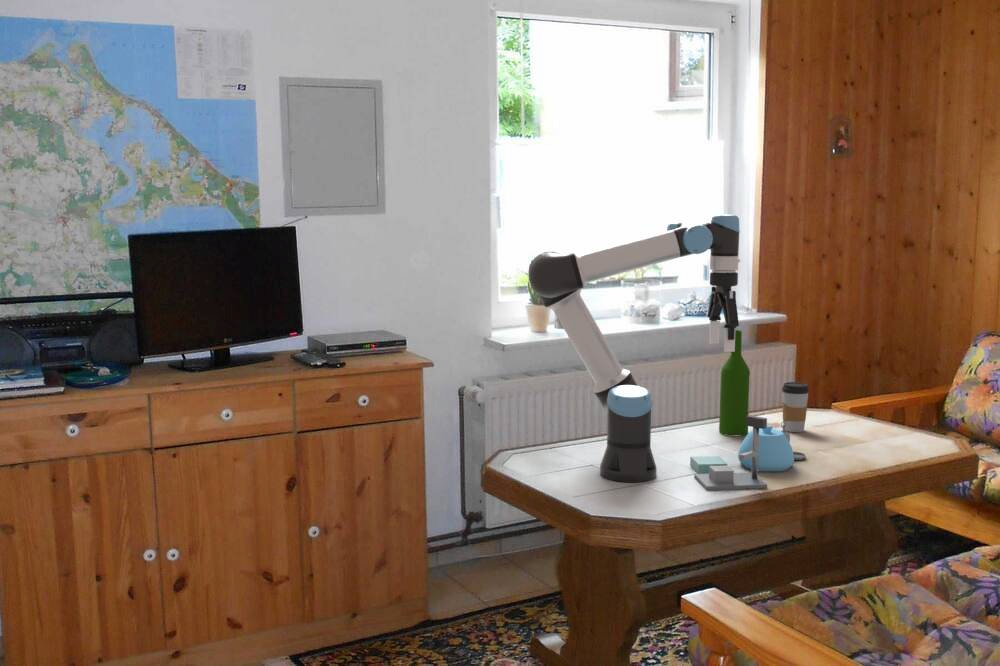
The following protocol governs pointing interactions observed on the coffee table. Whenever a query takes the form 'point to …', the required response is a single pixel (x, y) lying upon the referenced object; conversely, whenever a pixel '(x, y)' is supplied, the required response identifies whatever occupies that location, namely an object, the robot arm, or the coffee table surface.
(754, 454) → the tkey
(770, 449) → the sugar bowl
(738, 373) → the wine bottle
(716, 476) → the grey base plate
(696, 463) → the lid
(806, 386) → the coffee cup
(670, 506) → the coffee table surface
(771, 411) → the coffee table surface
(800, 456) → the pocket watch
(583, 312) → the robot arm
